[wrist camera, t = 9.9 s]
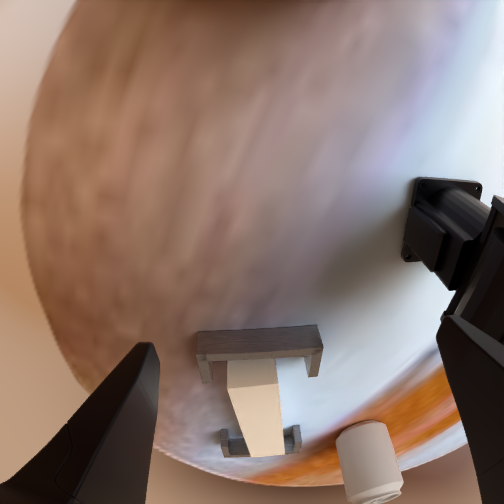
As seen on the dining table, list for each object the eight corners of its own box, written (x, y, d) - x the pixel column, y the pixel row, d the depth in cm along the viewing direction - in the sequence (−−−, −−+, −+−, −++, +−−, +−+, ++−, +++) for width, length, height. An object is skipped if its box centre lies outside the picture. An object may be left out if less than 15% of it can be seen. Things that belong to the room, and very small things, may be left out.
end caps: (317, 324, 24) (323, 347, 22) (296, 437, 35) (299, 452, 33) (198, 331, 24) (195, 354, 22) (224, 441, 35) (224, 457, 33)
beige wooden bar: (273, 346, 26) (278, 383, 23) (281, 426, 34) (285, 454, 31) (227, 351, 26) (227, 388, 23) (249, 430, 34) (251, 457, 31)
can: (394, 420, 36) (416, 489, 26) (356, 443, 39) (371, 509, 29) (364, 413, 34) (386, 494, 23) (323, 438, 37) (337, 513, 26)
